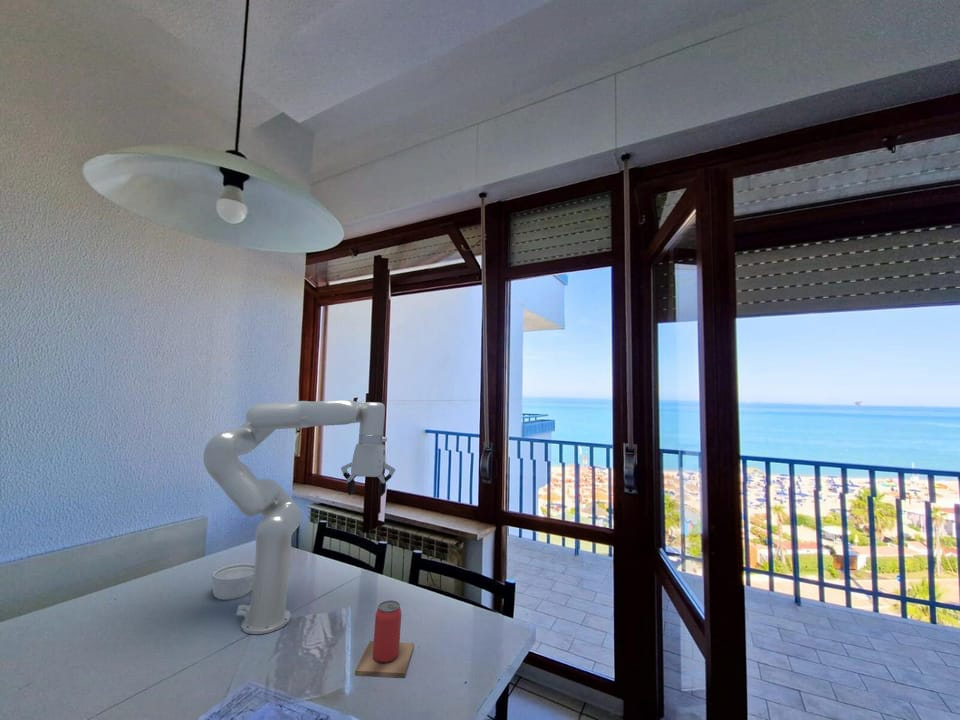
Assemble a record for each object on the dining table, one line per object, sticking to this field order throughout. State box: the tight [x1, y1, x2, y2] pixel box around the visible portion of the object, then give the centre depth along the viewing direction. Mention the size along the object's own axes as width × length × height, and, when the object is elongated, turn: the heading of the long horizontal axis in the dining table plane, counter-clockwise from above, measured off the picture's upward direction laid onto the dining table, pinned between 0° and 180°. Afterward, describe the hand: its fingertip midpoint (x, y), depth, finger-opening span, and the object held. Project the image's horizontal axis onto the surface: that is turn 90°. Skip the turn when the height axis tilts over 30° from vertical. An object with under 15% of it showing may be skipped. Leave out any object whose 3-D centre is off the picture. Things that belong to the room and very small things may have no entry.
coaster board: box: [354, 640, 415, 679], centre depth 97 cm, size 12×12×1 cm
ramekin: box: [212, 562, 255, 601], centre depth 129 cm, size 13×13×7 cm
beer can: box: [373, 599, 402, 663], centre depth 98 cm, size 7×7×12 cm
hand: (366, 494), depth 121 cm, fingers open, 9 cm apart
